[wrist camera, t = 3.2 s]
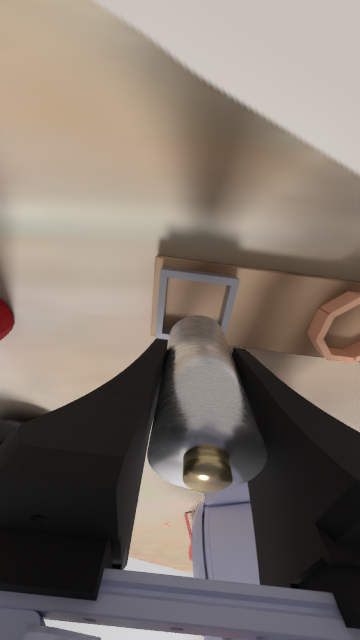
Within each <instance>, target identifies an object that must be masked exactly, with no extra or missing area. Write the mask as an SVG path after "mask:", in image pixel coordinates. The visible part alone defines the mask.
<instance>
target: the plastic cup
mask: <svg viewBox="0 0 360 640" xmlns="http://www.w3.org/2000/svg"><path fill="white" fill-rule="evenodd" d="M13 325H14V319H13V314H12V312H11V311H10V309H9V307H8V305H7V304H6V303H4V302H3V301H2V300H1V299H0V340H1V339H3V338H4V337H5V336H6V335H7V334H9V332H10V331H11V330H12V328H13Z"/></svg>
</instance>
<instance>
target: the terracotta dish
mask: <svg viewBox="0 0 360 640" xmlns="http://www.w3.org/2000/svg"><path fill="white" fill-rule="evenodd" d="M359 304H360V292H354V291H347V292H346V293H344V294H342V295H340V296H338V297H337V298H335V299H333V300H331V301H330V302H328V303H326V304H324V305H322V306H321V307H319V308H320V309H318V310H317V312H316V314H315V316H314V318H313V320H312V322H311V324H310V327H309V329H308V331H307V335H308V336H309V338H310V340H311V342H312V343H313V345H314V347H315V349H316V350H317V351H318V352H319V353H320V354H321V355H322V356H323V357H324V358H325V359H327V360H332V361H340V362H348V363H356V362H358V361H360V341H359V342H357V343H355V344H353V345H351V346H349V347H347V348H344V349H336V348H329V347H327V345H326V343H325V341H324V340H323V339H324V337H325V335H326V333H327V331H328V329H329V327H330V325H331V323H332V322H333V320H334V318H335V317H336V316H338V315H340V314H342V313H344V312H346V311H348V310H350V309H351V308H353V307H355V306H357V305H359Z"/></svg>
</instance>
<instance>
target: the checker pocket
mask: <svg viewBox="0 0 360 640" xmlns="http://www.w3.org/2000/svg"><path fill="white" fill-rule="evenodd" d="M168 278H176V279H183V280H191V281H199V282H206V283H214V284H222V285H227V287H226V291H225V295H224V300H223V304H222V308H221V312H220V317H219V321H218V324H219V325H220V326H221V328H222V330H223V332H224V335H225V336H226V332H227V328H228V324H229V320H230V316H231V312H232V309H233V305H234V301H235V297H236V293H237V289H238V286H239V282H240V279H239V278H238V277H237V276H233V275H225V274H218V273H210V272H203V271H195V270H187V269H180V268H172V267H165V266H163V267H162V268H161V269H160V282H159V295H158V309H157V322H156V335H155V338H159V339H167V340H169V335H170V332H171V330H172V328H171V327H164V319H165V309H166V298H167V288H168Z"/></svg>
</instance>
